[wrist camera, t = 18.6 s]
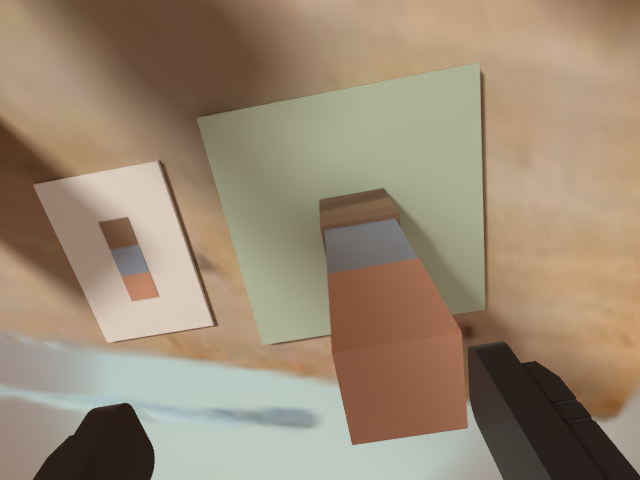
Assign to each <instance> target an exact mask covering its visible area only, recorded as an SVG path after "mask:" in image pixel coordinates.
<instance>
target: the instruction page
mask: <svg viewBox="0 0 640 480" xmlns="http://www.w3.org/2000/svg"><path fill="white" fill-rule="evenodd" d="M33 187H34V189H35V191H36V193H37V195H38V197H39V199H40V201H41V204H42V206H43V208H44V210H45V212H46V214H47V216H48V218H49V220H50V222H51V225H52V227H53V229H54V231H55V233H56V235H57V237H58V239H59V241H60V244H61V246H62V248H63V250H64V252H65V254H66V256H67V258H68V260H69V262H70V265H71V267H72V269H73V271H74V273H75V275H76V277H77V279H78V281H79V284H80V286H81V288H82V290H83V292H84V294H85V296H86V298H87V300H88V303H89V305H90V307H91V309H92V311H93V313H94V315H95V317H96V319H97V321H98V324H99V326H100V328H101V330H102V332H103V334H104V336H105V338H106V340H107V343H109V342H115V341H121V340H127V339H133V338H139V337H146V336H152V335H158V334H164V333H170V332H176V331H182V330H189V329H195V328H201V327H207V326H213V325H214V320H213V317H212V314H211V311H210V308H209V305H208V302H207V299H206V296H205V294H204V291H203V288H202V285H201V282H200V279H199V276H198V273H197V270H196V267H195V264H194V261H193V258H192V255H191V252H190V249H189V246H188V243H187V240H186V238H185V235H184V232H183V229H182V226H181V223H180V220H179V217H178V214H177V211H176V208H175V205H174V202H173V199H172V196H171V193H170V190H169V187H168V184H167V182H166V179H165V176H164V173H163V170H162V167H161V164H160V161H159V160H158V161H153V162H148V163H143V164H137V165H132V166H127V167H121V168H116V169H111V170H106V171H100V172H95V173H90V174H84V175H79V176H74V177H69V178H63V179H58V180H53V181H48V182H42V183H37V184H34V185H33Z"/></svg>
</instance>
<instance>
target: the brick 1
mask: <svg viewBox="0 0 640 480" xmlns="http://www.w3.org/2000/svg"><path fill="white" fill-rule="evenodd" d="M325 245H326V261H327V274H330V273H336V272H342V271H347V270H353V269H359V268H364V267H370V266H376V265H382V264H387V263H393V262H399V261H404V260H410V259H416V258H418V257H417V255H416V253H415V252H414V250H413V248H412V246H411V245H410V243H409V241H408V240H407V238H406V236H405V234H404V233H403V231H402V229H401V227H400V226H399V224H398V222H397V220H396V219H389V220H383V221H377V222H371V223H365V224H359V225H353V226H347V227H340V228H334V229H328V230H325Z"/></svg>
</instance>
